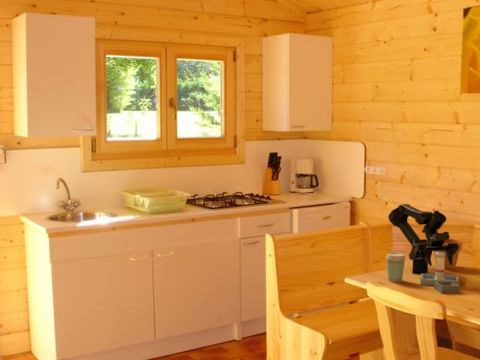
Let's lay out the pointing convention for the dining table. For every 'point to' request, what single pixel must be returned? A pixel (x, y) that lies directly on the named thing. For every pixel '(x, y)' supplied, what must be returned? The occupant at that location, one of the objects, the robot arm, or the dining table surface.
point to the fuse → (439, 265)
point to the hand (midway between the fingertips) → (441, 265)
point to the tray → (430, 278)
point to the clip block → (446, 287)
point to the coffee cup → (395, 266)
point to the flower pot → (455, 256)
